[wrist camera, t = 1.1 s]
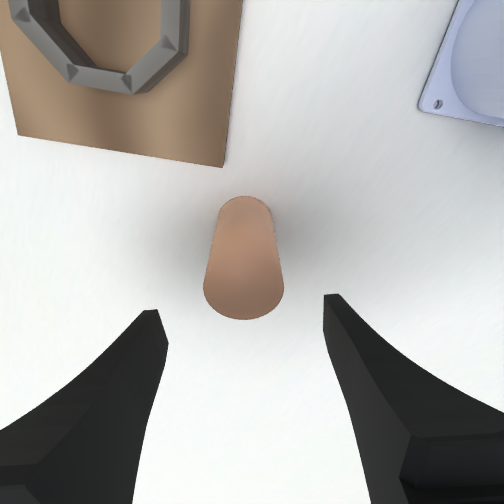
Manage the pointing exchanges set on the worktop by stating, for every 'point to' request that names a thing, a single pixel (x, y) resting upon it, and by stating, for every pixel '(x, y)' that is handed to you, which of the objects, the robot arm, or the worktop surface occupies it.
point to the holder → (123, 73)
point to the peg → (244, 261)
